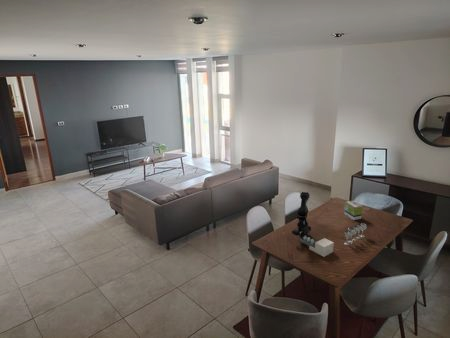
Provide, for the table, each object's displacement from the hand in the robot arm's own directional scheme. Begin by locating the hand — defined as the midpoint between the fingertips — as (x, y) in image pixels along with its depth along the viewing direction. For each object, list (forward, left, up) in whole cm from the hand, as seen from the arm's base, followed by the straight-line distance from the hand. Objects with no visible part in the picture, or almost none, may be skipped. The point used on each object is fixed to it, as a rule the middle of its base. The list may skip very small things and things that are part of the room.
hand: (300, 238), depth 278 cm
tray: (+8, 0, -2) cm, 9 cm away
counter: (+22, 0, -2) cm, 22 cm away
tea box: (+1, +78, -2) cm, 78 cm away
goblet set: (+29, +38, -2) cm, 48 cm away
